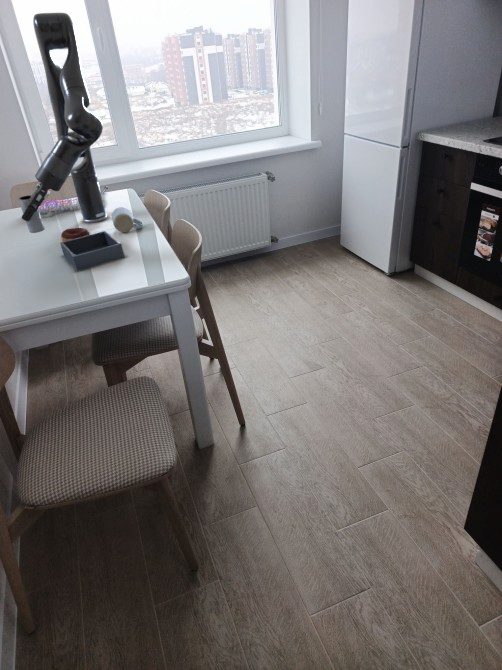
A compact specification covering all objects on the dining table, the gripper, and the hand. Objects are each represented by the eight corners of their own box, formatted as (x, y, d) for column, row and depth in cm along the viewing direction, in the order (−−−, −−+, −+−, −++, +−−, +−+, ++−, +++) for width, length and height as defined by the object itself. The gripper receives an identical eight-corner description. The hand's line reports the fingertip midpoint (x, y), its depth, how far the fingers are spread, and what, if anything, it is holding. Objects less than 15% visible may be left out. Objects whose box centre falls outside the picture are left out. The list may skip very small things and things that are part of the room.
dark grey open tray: (63, 255, 160) (59, 242, 158) (108, 243, 167) (105, 230, 165) (77, 271, 148) (73, 256, 146) (124, 257, 155) (121, 243, 152)
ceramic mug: (115, 235, 174) (111, 214, 170) (114, 228, 181) (109, 208, 177) (144, 230, 177) (140, 210, 173) (142, 223, 183) (138, 204, 179)
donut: (92, 242, 170) (89, 231, 168) (64, 248, 167) (61, 237, 165) (89, 233, 178) (86, 223, 176) (62, 239, 175) (59, 228, 173)
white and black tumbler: (39, 233, 144) (28, 199, 139) (26, 233, 145) (15, 199, 140) (47, 227, 148) (37, 195, 143) (35, 228, 149) (24, 195, 144)
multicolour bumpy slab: (100, 200, 217) (97, 188, 214) (99, 209, 204) (96, 197, 202) (31, 209, 212) (28, 198, 209) (26, 219, 200) (22, 207, 197)
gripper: (45, 158, 144) (17, 203, 148) (40, 167, 132) (9, 217, 136) (68, 173, 148) (40, 217, 152) (65, 184, 136) (35, 231, 140)
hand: (25, 217), depth 144 cm, fingers closed on white and black tumbler, 4 cm apart
